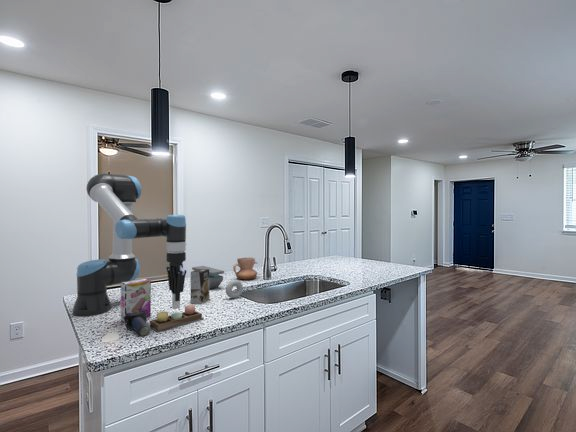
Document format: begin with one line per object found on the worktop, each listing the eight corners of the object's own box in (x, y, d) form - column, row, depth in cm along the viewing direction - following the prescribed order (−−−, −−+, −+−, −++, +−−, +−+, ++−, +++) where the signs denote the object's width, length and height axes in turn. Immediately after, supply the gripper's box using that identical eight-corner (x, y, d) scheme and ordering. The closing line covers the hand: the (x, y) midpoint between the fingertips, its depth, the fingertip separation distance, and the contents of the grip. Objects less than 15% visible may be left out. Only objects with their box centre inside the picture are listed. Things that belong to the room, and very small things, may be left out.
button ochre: (155, 319, 125) (155, 313, 125) (165, 317, 128) (165, 310, 128) (159, 322, 123) (159, 315, 123) (170, 319, 126) (170, 313, 126)
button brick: (183, 312, 134) (182, 306, 134) (191, 310, 137) (191, 304, 137) (187, 314, 131) (187, 308, 131) (196, 312, 134) (196, 306, 134)
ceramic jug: (254, 275, 226) (253, 256, 225) (262, 279, 213) (261, 258, 213) (230, 278, 217) (229, 258, 217) (236, 282, 204) (236, 261, 204)
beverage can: (126, 333, 123) (136, 343, 115) (122, 315, 122) (132, 324, 113) (149, 323, 129) (161, 332, 121) (145, 306, 128) (157, 314, 119)
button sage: (169, 320, 130) (169, 314, 130) (179, 317, 133) (179, 311, 133) (174, 322, 127) (174, 316, 127) (183, 320, 130) (183, 313, 130)
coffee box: (201, 304, 156) (201, 272, 156) (190, 303, 158) (189, 271, 157) (210, 299, 165) (209, 268, 165) (198, 298, 167) (198, 268, 166)
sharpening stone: (224, 289, 187) (224, 270, 187) (212, 291, 181) (212, 272, 181) (203, 282, 205) (203, 265, 205) (192, 284, 199) (192, 267, 199)
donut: (227, 300, 162) (227, 281, 162) (224, 299, 165) (224, 280, 165) (244, 297, 169) (244, 278, 168) (240, 296, 171) (240, 277, 171)
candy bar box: (125, 323, 130) (125, 284, 129) (120, 321, 133) (119, 282, 132) (151, 316, 138) (151, 279, 138) (146, 314, 141) (145, 278, 141)
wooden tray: (148, 326, 126) (148, 320, 126) (193, 314, 140) (193, 309, 140) (157, 332, 120) (157, 326, 120) (203, 319, 134) (203, 313, 134)
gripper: (192, 252, 128) (192, 309, 128) (177, 249, 137) (177, 302, 137) (175, 254, 122) (175, 314, 123) (160, 251, 131) (160, 306, 132)
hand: (176, 308), depth 130 cm, fingers closed
